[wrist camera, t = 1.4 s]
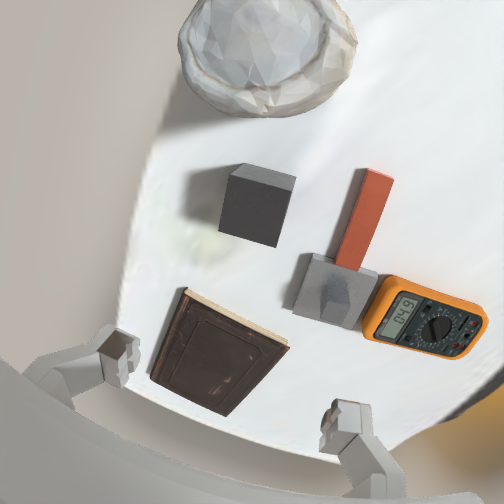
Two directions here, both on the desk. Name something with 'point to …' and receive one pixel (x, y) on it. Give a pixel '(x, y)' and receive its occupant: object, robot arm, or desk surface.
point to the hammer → (346, 263)
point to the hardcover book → (214, 354)
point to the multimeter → (423, 320)
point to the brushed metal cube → (256, 204)
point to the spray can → (266, 54)
